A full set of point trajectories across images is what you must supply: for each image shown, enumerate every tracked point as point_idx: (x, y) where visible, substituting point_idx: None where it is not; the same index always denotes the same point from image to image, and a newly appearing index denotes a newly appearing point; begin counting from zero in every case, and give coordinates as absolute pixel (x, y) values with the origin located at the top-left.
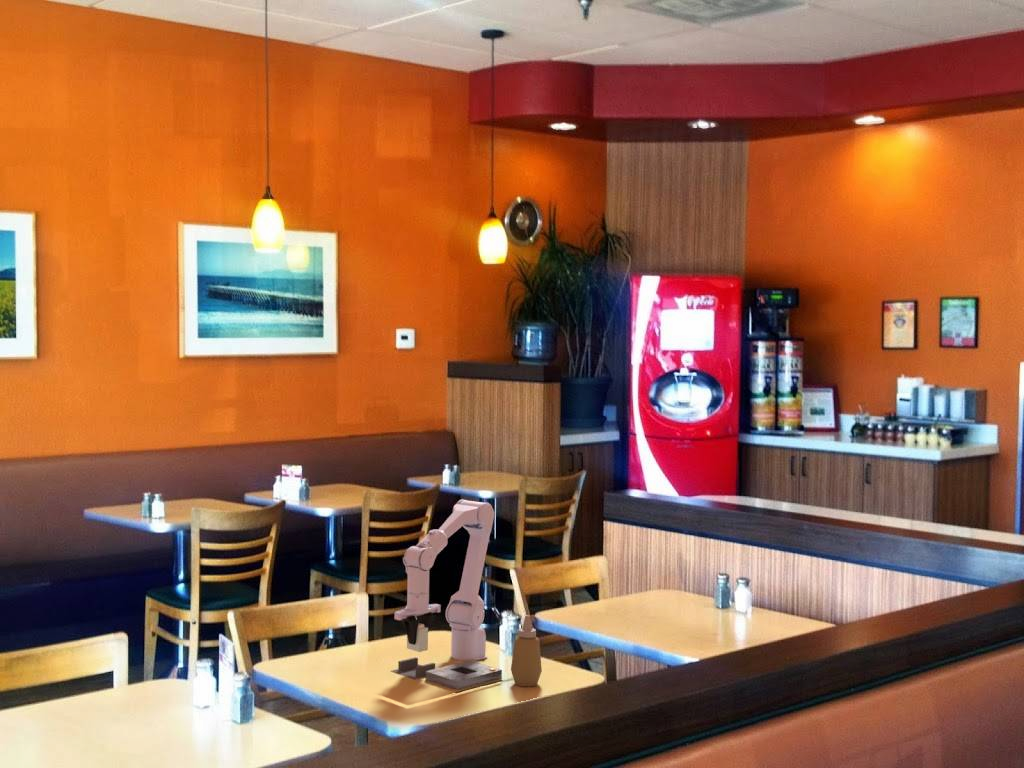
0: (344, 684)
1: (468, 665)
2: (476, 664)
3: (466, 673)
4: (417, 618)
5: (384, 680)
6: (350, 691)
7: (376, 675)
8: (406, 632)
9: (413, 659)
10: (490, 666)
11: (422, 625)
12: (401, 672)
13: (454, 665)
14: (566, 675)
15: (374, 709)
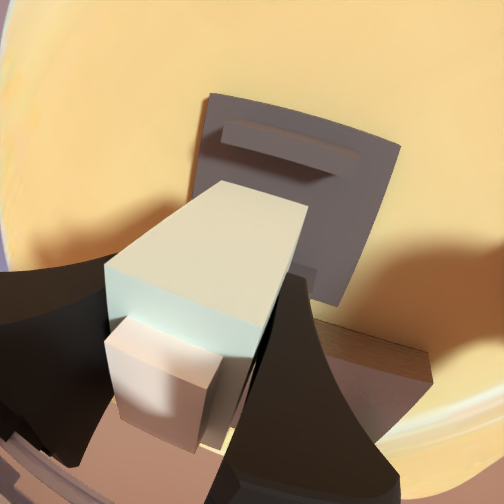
0: (48, 74)
1: (360, 401)
2: (384, 413)
3: None
4: (236, 430)
5: (138, 137)
6: (27, 140)
7: (167, 62)
8: (105, 260)
9: (317, 168)
10: (377, 440)
11: (175, 437)
12: (225, 151)
13: (336, 369)
14: (440, 477)
15: (19, 268)
